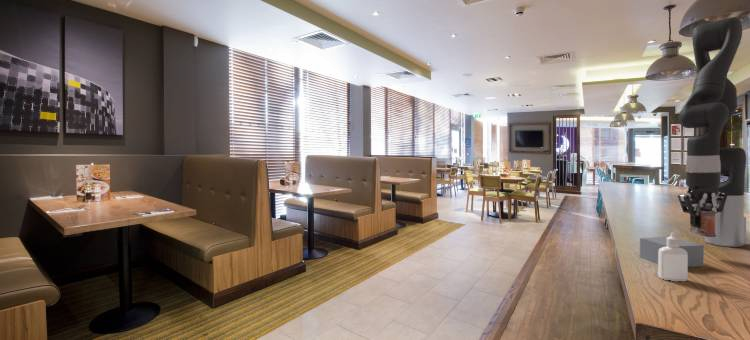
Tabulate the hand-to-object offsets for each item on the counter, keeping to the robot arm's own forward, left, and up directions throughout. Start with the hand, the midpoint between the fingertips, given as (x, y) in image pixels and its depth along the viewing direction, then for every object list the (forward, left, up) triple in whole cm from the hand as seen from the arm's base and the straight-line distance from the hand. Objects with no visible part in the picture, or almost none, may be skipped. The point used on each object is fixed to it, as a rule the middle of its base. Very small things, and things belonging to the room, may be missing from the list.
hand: (702, 226), depth 103 cm
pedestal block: (+12, +2, -10) cm, 16 cm away
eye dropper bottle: (+24, +15, -10) cm, 30 cm away
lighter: (0, 0, -3) cm, 3 cm away
